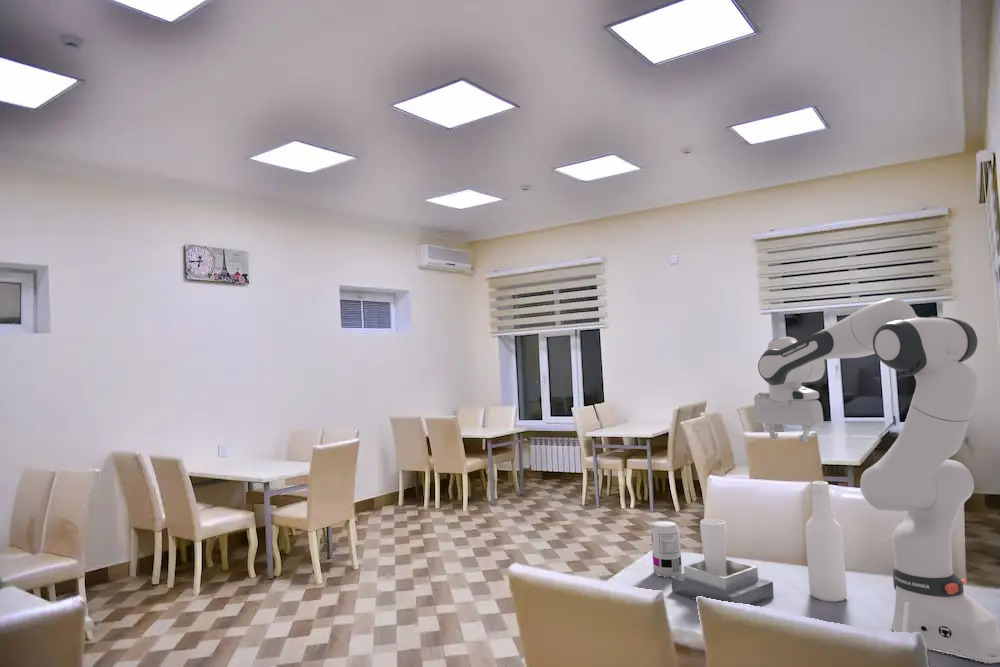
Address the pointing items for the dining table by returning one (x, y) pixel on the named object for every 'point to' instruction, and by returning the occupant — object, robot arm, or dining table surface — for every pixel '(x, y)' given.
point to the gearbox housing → (723, 583)
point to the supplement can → (666, 548)
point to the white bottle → (825, 549)
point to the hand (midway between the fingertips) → (788, 440)
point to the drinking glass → (714, 545)
